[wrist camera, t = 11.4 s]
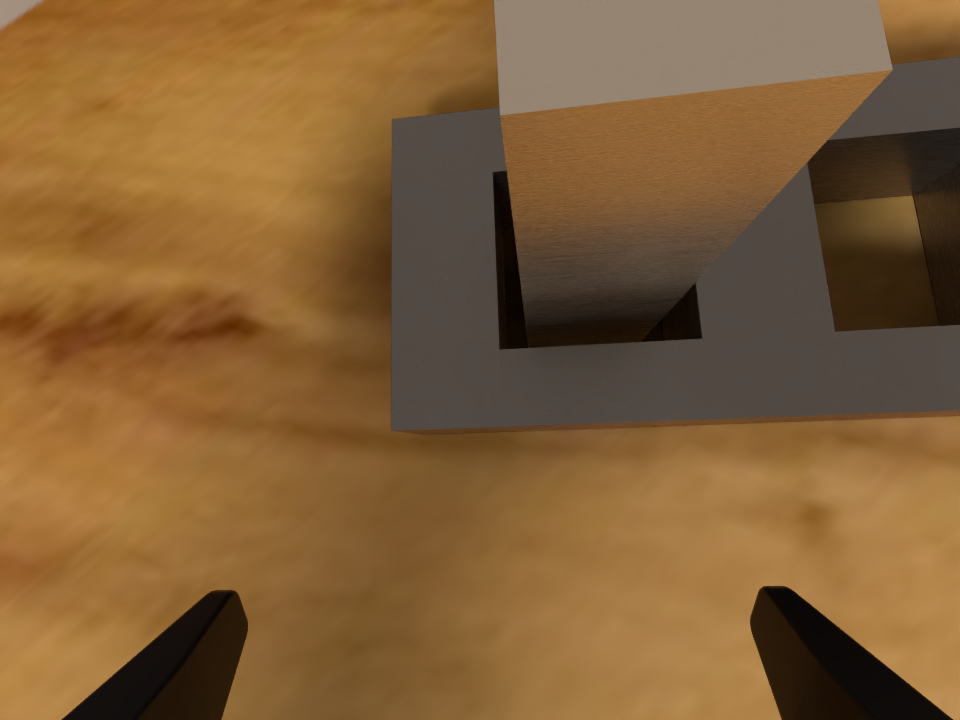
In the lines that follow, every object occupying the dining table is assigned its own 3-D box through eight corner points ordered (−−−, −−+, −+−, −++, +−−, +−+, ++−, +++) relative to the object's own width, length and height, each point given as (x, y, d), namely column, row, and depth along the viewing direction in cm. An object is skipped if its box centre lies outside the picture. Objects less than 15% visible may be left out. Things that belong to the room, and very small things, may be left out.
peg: (629, 238, 18) (827, -231, 6) (640, 342, 18) (891, 70, 5) (522, 246, 19) (485, -169, 6) (528, 348, 18) (499, 115, 5)
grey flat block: (968, 132, 18) (1091, 42, 14) (1034, 413, 16) (1198, 401, 12) (421, 184, 20) (392, 119, 16) (423, 434, 18) (391, 430, 14)
